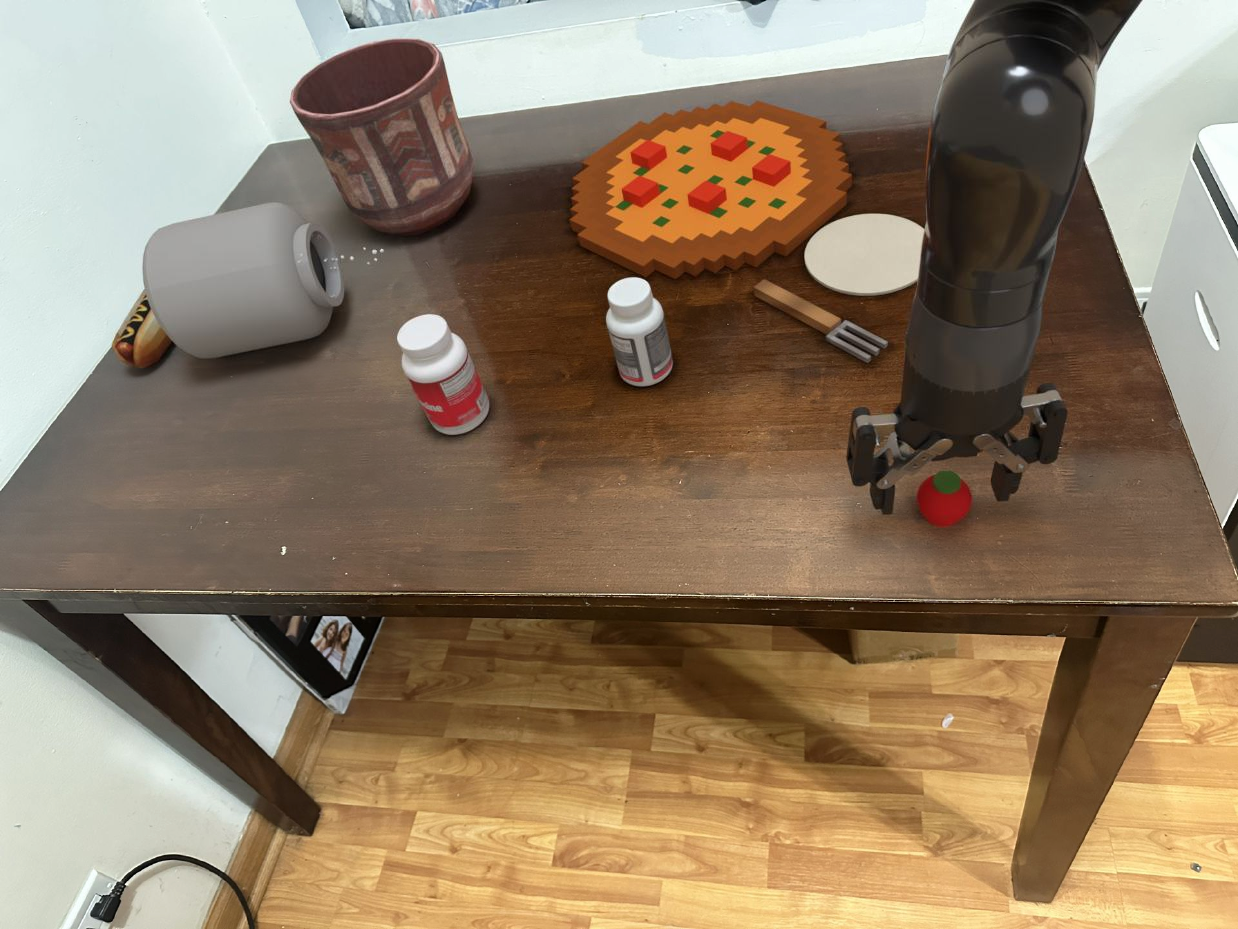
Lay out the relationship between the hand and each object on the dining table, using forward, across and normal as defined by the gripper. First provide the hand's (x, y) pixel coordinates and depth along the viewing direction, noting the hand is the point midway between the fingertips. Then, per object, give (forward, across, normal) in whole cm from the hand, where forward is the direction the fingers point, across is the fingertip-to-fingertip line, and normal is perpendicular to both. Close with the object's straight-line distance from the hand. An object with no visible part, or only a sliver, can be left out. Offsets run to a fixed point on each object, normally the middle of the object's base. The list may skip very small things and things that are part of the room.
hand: (941, 499), depth 67 cm
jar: (+3, -61, +39) cm, 73 cm away
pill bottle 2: (+3, -23, +22) cm, 31 cm away
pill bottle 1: (+3, -41, +19) cm, 46 cm away
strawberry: (+2, 0, 0) cm, 2 cm away
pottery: (+3, -50, +57) cm, 76 cm away
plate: (+2, +1, +34) cm, 34 cm away
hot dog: (+3, -80, +39) cm, 89 cm away
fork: (+2, -6, +25) cm, 25 cm away
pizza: (+3, -14, +51) cm, 53 cm away
